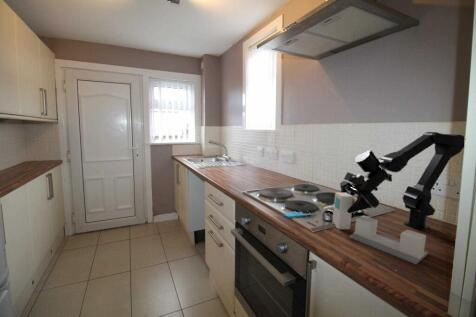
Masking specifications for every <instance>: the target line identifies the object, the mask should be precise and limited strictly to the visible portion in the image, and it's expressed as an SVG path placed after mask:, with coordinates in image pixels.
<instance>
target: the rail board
mask: <svg viewBox="0 0 476 317" xmlns="http://www.w3.org/2000/svg"><path fill="white" fill-rule="evenodd" d="M377 229H378V219H375V218H373V217H370V216H366V215H362V216H359V217H357V218H355V228H354V232H353V233H352V234H350V235H349V238H350V239H352V240H355V241H358V242H360V243H363V244H365V245H367V246H369V247H372V248H375V249H376V250H379V251H382V252H385V253H387V254H390V255H391V256H394V257H397V258H398V259H402V260H404V261H406V262H409V263H412V264H415V265H417V264H418V263H420V262H421V261H422V260H423V259H424V258H426V257H427V255H428V254H429V251H426V250H425V246H426V240H427V235H426V234H423V233H419V232H418V231H417V232H416V231H413V230H410V229H406V230H404V231H402V232H400V237H399V238H400V239H399V240H396V239H393V238H390V237H388V236H385V235H382V234H379V233H377Z"/></svg>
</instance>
